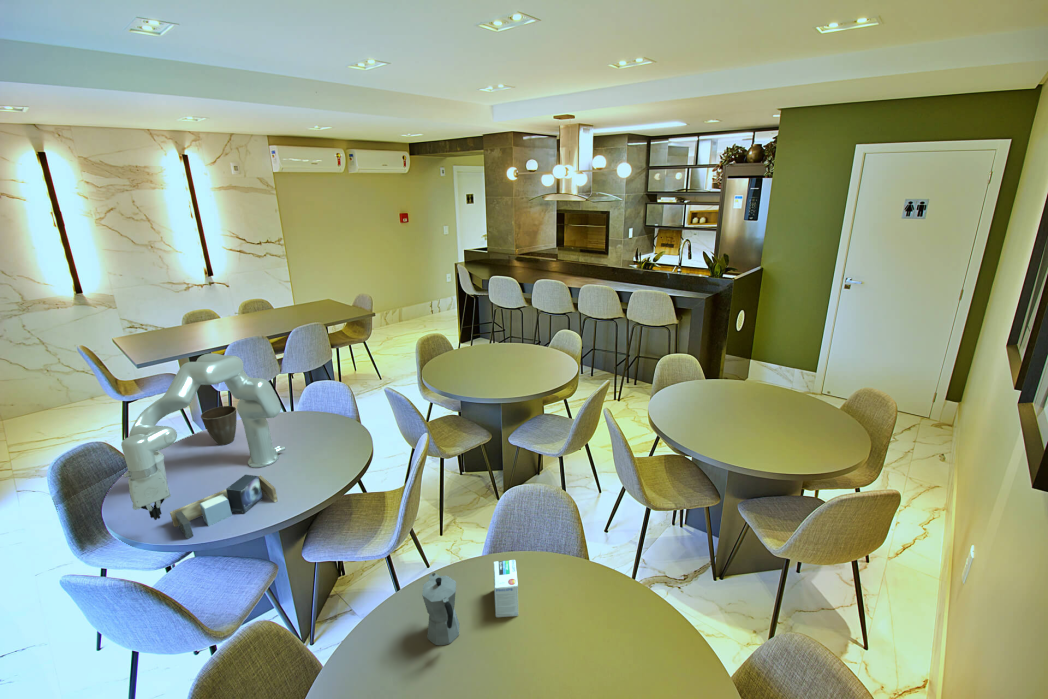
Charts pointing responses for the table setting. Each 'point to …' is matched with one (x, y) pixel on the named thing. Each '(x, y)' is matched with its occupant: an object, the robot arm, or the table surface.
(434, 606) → the coffeepot
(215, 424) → the plant pot
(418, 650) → the table surface
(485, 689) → the table surface
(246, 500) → the small box
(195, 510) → the curved wooden plank
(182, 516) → the bookend
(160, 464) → the coffee cup
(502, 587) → the light bulb box
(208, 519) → the pale grey block
